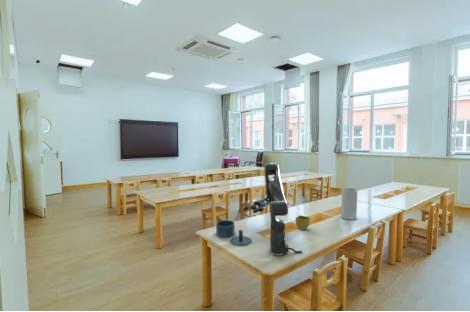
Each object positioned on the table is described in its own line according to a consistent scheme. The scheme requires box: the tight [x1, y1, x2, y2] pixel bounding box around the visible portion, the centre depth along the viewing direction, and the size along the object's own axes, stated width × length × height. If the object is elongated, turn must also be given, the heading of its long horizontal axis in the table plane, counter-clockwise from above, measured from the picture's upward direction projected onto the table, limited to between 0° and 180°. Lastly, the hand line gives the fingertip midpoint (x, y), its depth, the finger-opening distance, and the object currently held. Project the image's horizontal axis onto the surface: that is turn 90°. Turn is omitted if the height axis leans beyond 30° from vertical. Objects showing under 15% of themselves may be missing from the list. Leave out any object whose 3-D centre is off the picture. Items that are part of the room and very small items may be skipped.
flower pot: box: [295, 215, 311, 231], centre depth 197 cm, size 9×9×9 cm
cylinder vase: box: [340, 187, 358, 221], centre depth 221 cm, size 12×12×25 cm
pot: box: [215, 219, 236, 239], centre depth 187 cm, size 13×13×8 cm
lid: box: [230, 229, 252, 247], centre depth 174 cm, size 14×14×8 cm
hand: (249, 210), depth 182 cm, fingers open, 8 cm apart
